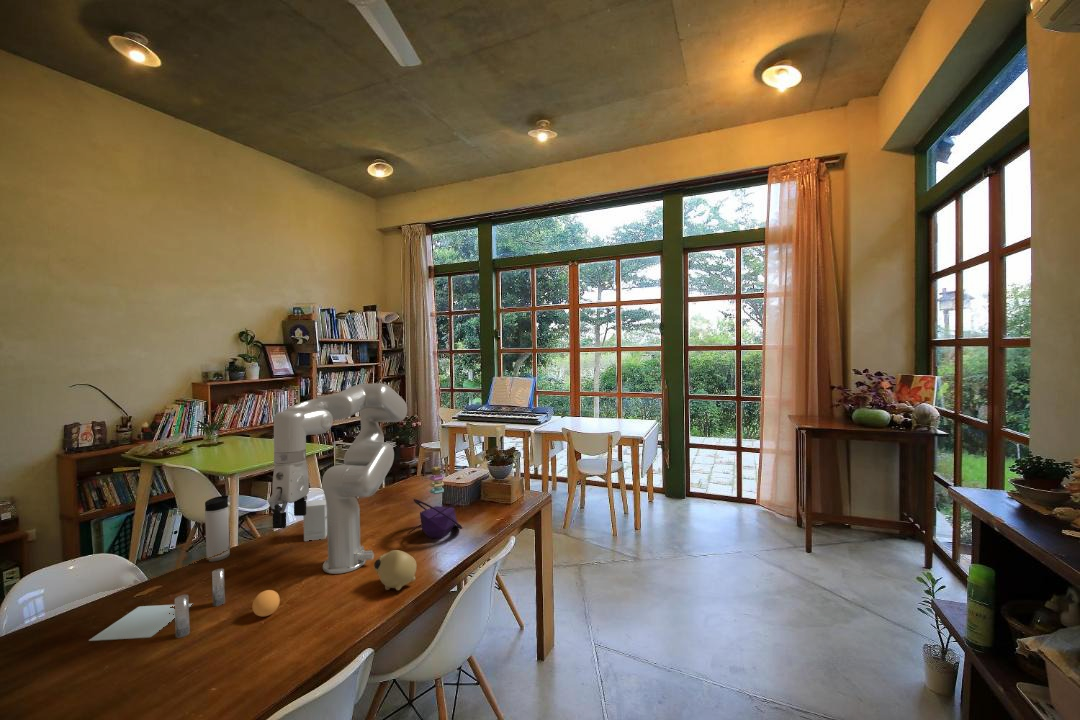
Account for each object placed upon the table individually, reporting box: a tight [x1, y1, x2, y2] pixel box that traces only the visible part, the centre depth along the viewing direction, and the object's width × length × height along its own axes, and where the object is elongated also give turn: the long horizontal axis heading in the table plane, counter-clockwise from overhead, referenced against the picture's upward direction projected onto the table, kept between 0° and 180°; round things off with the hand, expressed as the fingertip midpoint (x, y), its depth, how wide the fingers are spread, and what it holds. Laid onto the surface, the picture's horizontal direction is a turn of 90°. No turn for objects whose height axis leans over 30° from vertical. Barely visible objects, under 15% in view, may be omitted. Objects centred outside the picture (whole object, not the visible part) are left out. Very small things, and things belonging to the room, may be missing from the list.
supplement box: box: [303, 499, 327, 542], centre depth 163 cm, size 7×7×13 cm
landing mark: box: [88, 603, 193, 642], centre depth 112 cm, size 14×14×1 cm
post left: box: [174, 594, 191, 639], centre depth 106 cm, size 3×3×9 cm
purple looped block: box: [406, 466, 467, 539], centre depth 161 cm, size 22×21×25 cm
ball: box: [251, 589, 281, 617], centre depth 113 cm, size 6×6×6 cm
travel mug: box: [204, 494, 231, 562], centre depth 147 cm, size 6×7×20 cm
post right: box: [211, 568, 226, 607], centre depth 119 cm, size 3×3×9 cm
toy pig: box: [373, 549, 417, 591], centre depth 126 cm, size 10×12×11 cm
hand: (290, 521), depth 118 cm, fingers open, 9 cm apart
